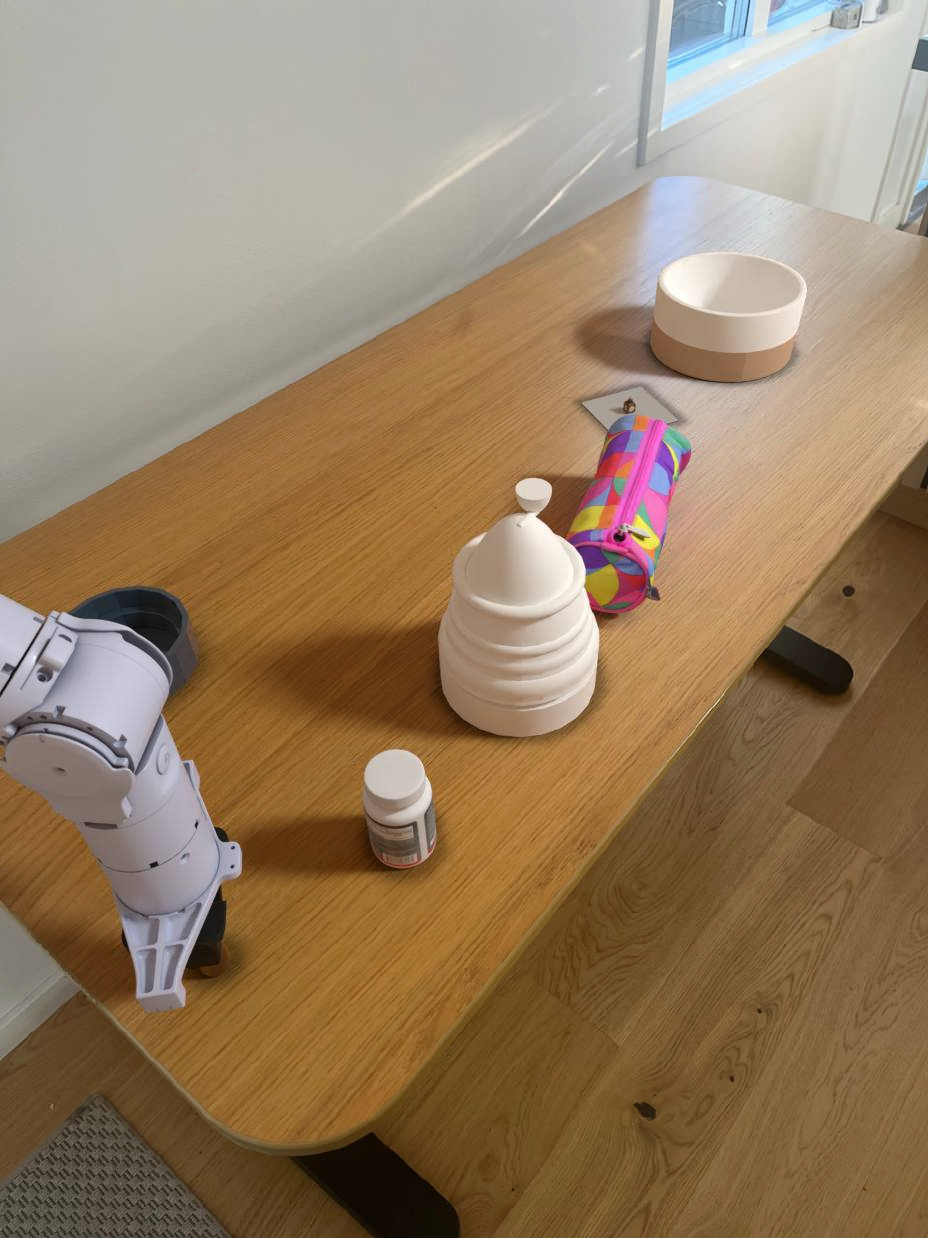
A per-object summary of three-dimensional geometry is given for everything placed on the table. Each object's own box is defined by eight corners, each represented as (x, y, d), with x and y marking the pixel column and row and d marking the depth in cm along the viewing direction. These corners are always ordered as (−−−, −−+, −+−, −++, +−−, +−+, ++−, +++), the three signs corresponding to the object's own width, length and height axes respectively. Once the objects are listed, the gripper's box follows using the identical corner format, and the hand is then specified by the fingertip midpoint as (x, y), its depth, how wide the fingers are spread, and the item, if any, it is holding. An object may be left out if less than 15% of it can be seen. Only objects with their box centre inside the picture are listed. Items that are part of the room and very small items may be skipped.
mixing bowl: (58, 727, 74) (38, 691, 70) (78, 631, 81) (61, 594, 78) (196, 709, 74) (182, 672, 71) (203, 615, 82) (191, 578, 79)
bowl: (729, 399, 105) (742, 331, 99) (620, 344, 114) (627, 279, 109) (820, 349, 112) (838, 283, 106) (711, 301, 122) (722, 238, 116)
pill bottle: (406, 801, 68) (397, 731, 62) (450, 840, 65) (445, 771, 59) (357, 841, 65) (342, 772, 59) (401, 883, 63) (390, 816, 57)
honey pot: (488, 602, 82) (485, 433, 69) (620, 653, 77) (643, 480, 65) (411, 698, 75) (392, 528, 62) (552, 761, 70) (563, 590, 57)
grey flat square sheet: (641, 386, 107) (642, 372, 106) (678, 420, 102) (680, 405, 101) (581, 402, 105) (581, 388, 104) (615, 438, 100) (617, 423, 99)
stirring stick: (198, 979, 58) (157, 904, 51) (200, 949, 60) (160, 872, 53) (230, 974, 59) (193, 898, 51) (231, 945, 60) (195, 867, 53)
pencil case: (654, 635, 79) (667, 556, 72) (547, 615, 81) (552, 536, 75) (686, 487, 93) (700, 411, 87) (595, 473, 95) (602, 398, 89)
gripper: (217, 943, 43) (269, 1050, 52) (227, 706, 53) (269, 832, 63) (62, 966, 42) (144, 1071, 52) (103, 722, 52) (164, 847, 62)
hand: (205, 942), depth 57 cm, fingers closed on stirring stick, 2 cm apart
